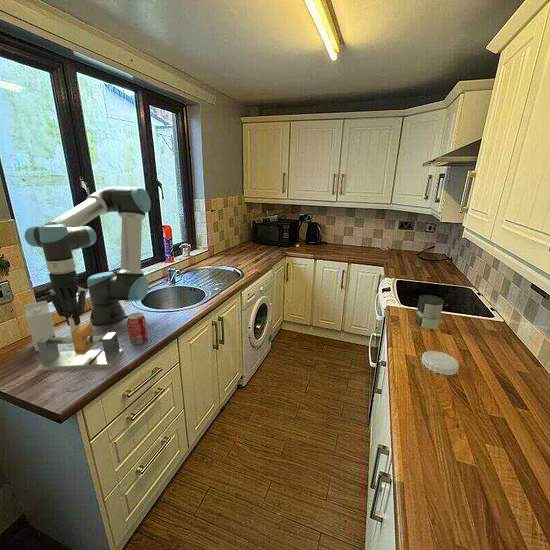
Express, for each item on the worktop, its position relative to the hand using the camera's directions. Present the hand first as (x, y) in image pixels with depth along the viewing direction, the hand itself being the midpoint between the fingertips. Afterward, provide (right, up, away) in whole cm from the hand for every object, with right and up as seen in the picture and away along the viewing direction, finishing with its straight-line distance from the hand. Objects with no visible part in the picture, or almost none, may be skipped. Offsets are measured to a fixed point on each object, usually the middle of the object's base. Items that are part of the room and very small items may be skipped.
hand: (76, 332), depth 104 cm
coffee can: (+146, -4, +33) cm, 150 cm away
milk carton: (-22, -8, +14) cm, 27 cm away
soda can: (+15, -7, +18) cm, 24 cm away
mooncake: (+134, -13, +2) cm, 135 cm away
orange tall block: (+2, -6, +2) cm, 7 cm away
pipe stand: (0, -11, +4) cm, 12 cm away
